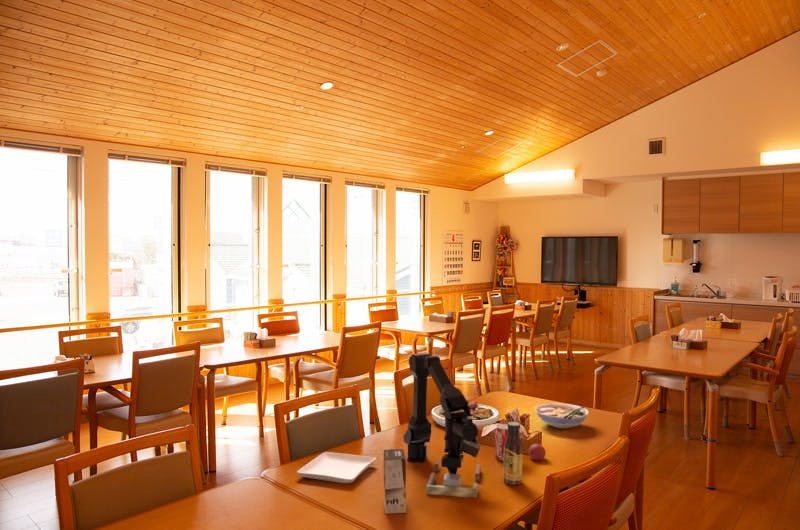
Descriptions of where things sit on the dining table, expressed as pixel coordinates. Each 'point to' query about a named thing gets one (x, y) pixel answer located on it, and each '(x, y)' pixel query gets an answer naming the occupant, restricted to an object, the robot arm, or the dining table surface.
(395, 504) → the coffee box
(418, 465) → the dining table surface
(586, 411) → the ramen bowl
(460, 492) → the wooden pieces
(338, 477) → the salad plate
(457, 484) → the white cube
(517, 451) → the sauce bottle
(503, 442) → the soda can
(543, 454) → the fruit
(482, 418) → the bowl
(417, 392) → the robot arm
